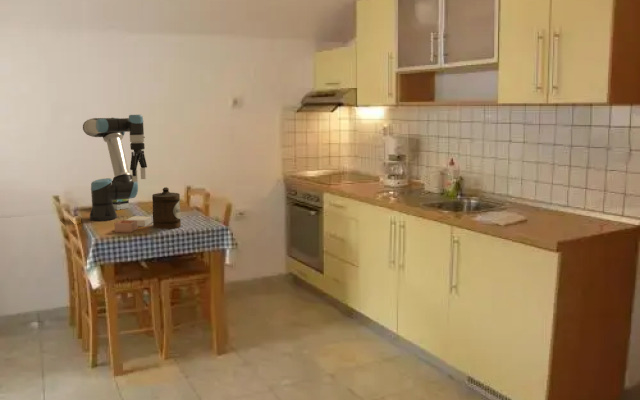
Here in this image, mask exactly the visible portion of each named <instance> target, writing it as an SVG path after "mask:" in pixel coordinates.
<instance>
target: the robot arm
mask: <svg viewBox="0 0 640 400" xmlns="http://www.w3.org/2000/svg"><path fill="white" fill-rule="evenodd" d="M144 129H145V128H144V118H143V115H142V114H129V115H128V117H127V118H126V117H125V118H124V117H123V118H120V117H119V118H118V117H100V118H99V117H94V118H89V119H86V121H84V122H83V124H82V130H83V132H84V133H85V134H86V135H88V136H89V137H92V138H102V139H103V141H104V142H105V143H106V145H107V149H108V152H109V154H108V155H109V158H110V162H111V167H112V172H113V175H114V177H112V178H110V177H108V178H99V179H95V180H93V181H91V183H90V192H91V194H90V195H91V210H90V214H89V220H90V221H96V222H97V221H98V222H104V221H110V220H111V221H112V220H115V219H117V218H118V214H117V210H115V209H114V206H113V200H120V199H129V200H130V199H135V198H136V197H137V195H138V191H139V176H138V175H139V173H138V164H139V166H140V169H139V170H140V180H147V173H146V172H147V171H146V169H147V167H148V165H147V160H146V155H145V151H144V150H145V146H146V145H145V143H144V142H145V135H144ZM126 132H127V133H129V142H130V150H131V157H130V158H131V159H130V164H129V165H130V168H128V164H127V159H126V155H125V150H124V147H123V142H122V140H123V138H124V136H125V133H126ZM129 170H130V171H131V173H130V172H129Z"/></svg>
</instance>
